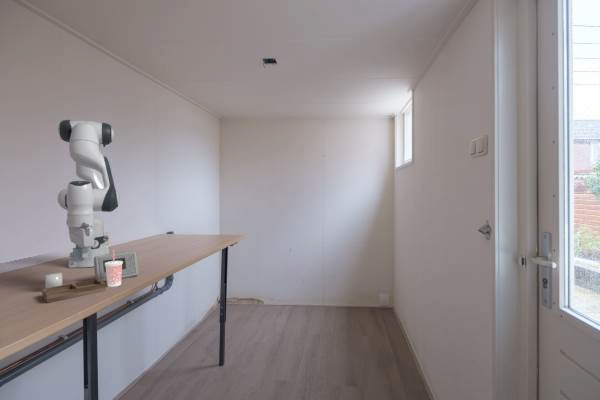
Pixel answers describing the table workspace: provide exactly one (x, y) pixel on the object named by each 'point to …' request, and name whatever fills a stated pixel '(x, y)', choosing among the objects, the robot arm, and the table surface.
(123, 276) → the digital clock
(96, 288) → the organiser base
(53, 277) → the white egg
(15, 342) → the table surface
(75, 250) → the blue cube
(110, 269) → the beverage cup
